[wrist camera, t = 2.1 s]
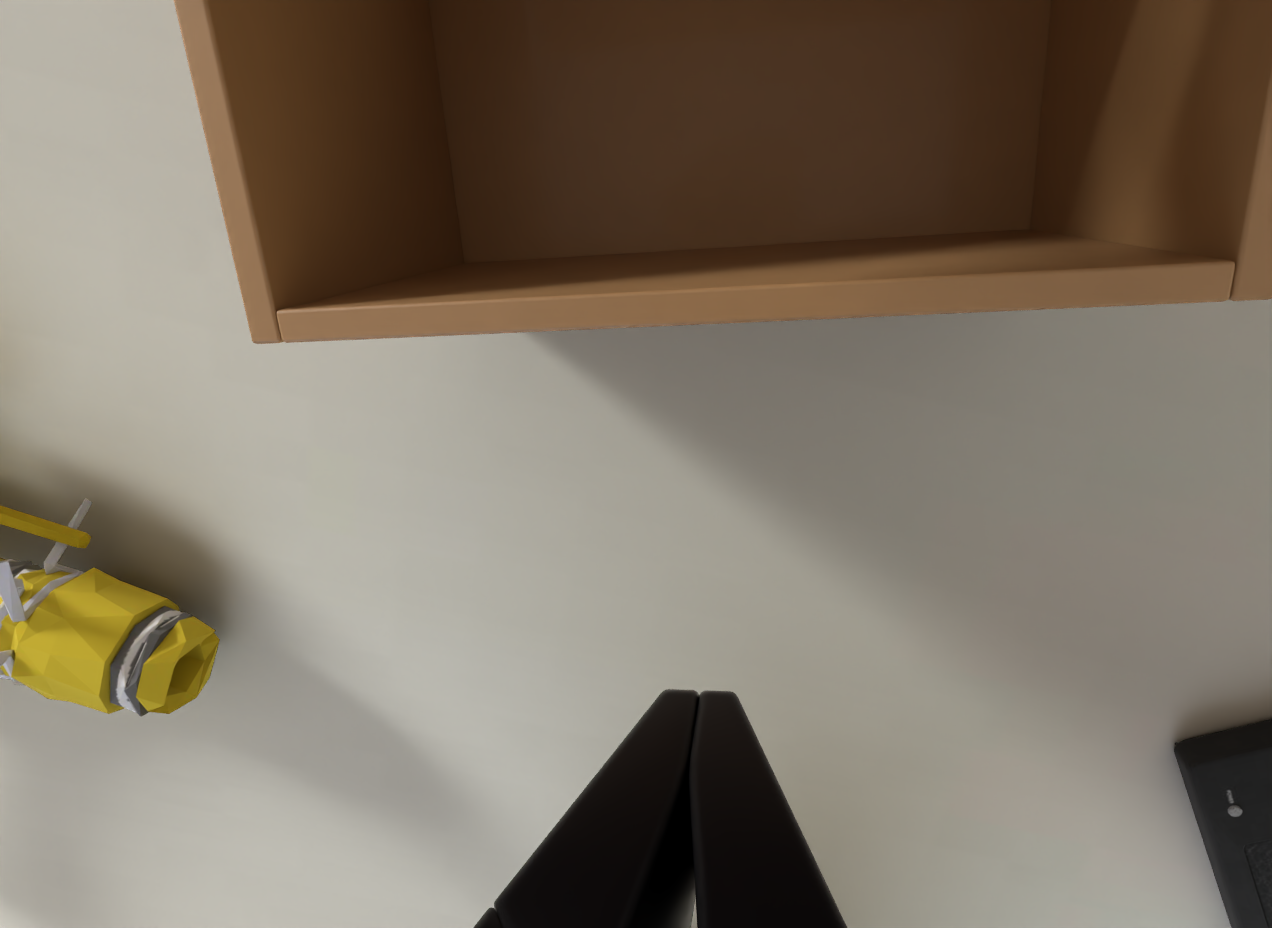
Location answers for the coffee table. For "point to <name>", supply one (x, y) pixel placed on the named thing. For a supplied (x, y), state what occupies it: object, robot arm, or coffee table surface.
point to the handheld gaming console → (1235, 815)
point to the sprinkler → (95, 631)
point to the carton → (729, 159)
